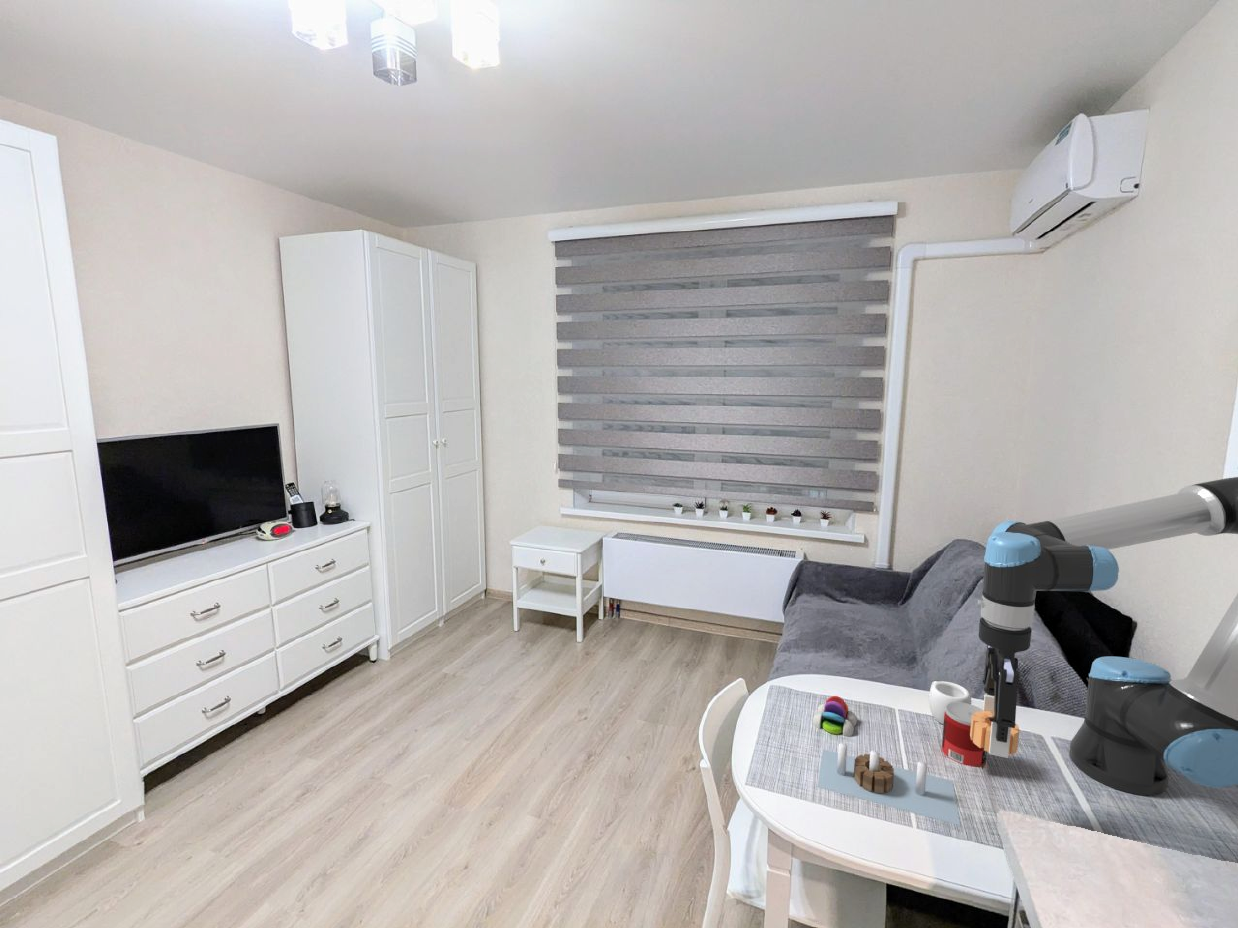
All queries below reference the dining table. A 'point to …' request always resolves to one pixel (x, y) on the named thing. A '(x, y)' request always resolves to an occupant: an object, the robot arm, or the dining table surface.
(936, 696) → the mug
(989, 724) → the gear
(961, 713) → the canned food
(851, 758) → the gear board
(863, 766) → the gear
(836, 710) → the multicolored petal toy
